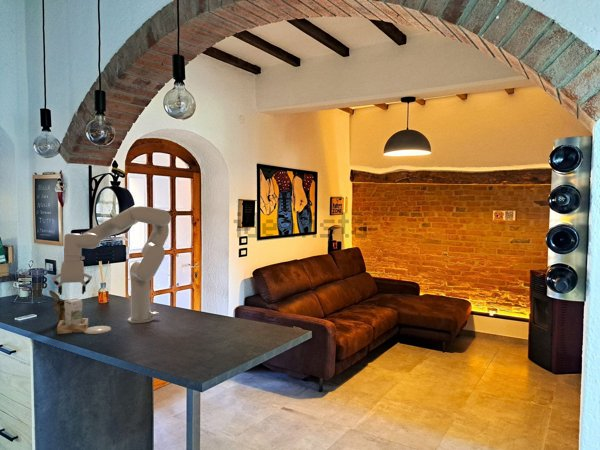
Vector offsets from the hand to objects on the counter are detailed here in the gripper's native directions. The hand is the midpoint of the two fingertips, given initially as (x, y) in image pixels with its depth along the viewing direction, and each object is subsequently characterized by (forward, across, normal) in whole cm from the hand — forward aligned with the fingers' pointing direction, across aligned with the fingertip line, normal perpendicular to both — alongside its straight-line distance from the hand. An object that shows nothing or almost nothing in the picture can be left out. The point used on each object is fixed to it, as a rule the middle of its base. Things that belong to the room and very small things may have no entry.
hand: (72, 294), depth 211 cm
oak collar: (+17, -1, 0) cm, 17 cm away
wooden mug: (+18, +5, -14) cm, 23 cm away
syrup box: (+18, -1, 0) cm, 18 cm away
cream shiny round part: (+17, -12, +6) cm, 22 cm away
